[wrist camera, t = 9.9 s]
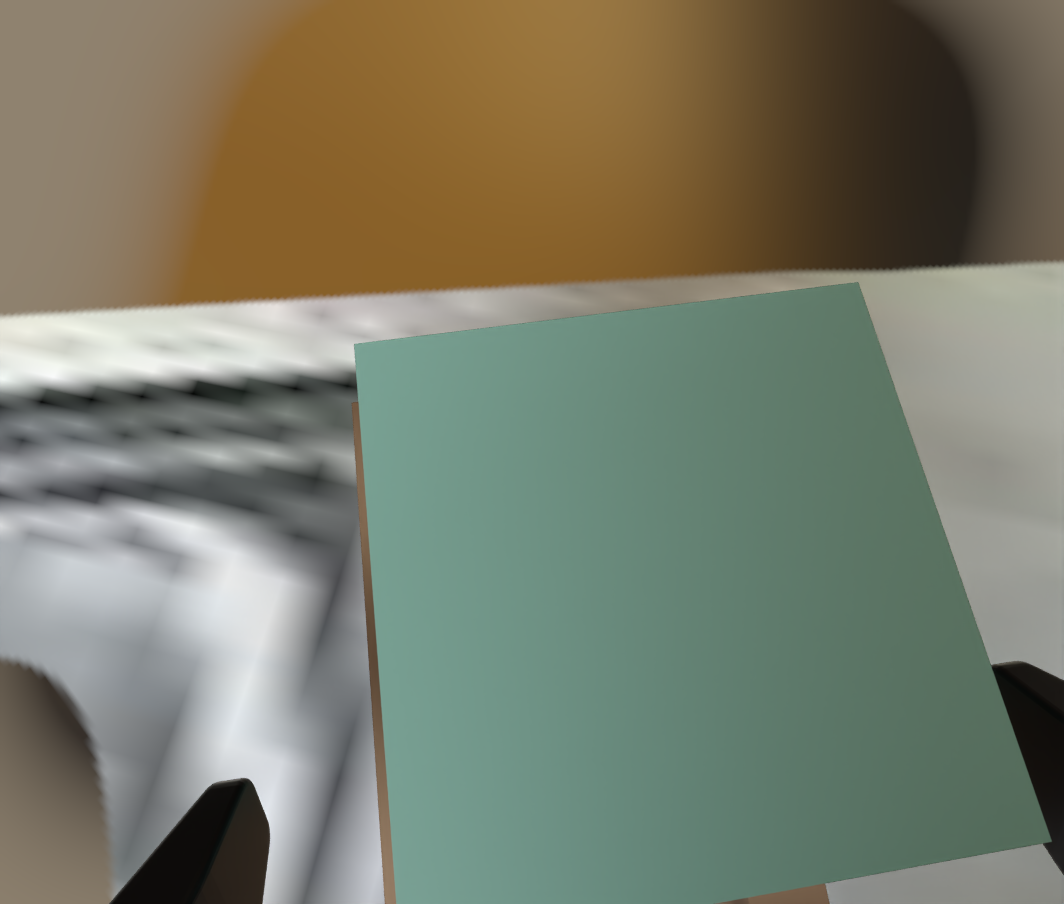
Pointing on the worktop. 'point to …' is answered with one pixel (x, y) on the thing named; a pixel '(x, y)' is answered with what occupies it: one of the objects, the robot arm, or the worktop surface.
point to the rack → (804, 900)
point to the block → (670, 612)
